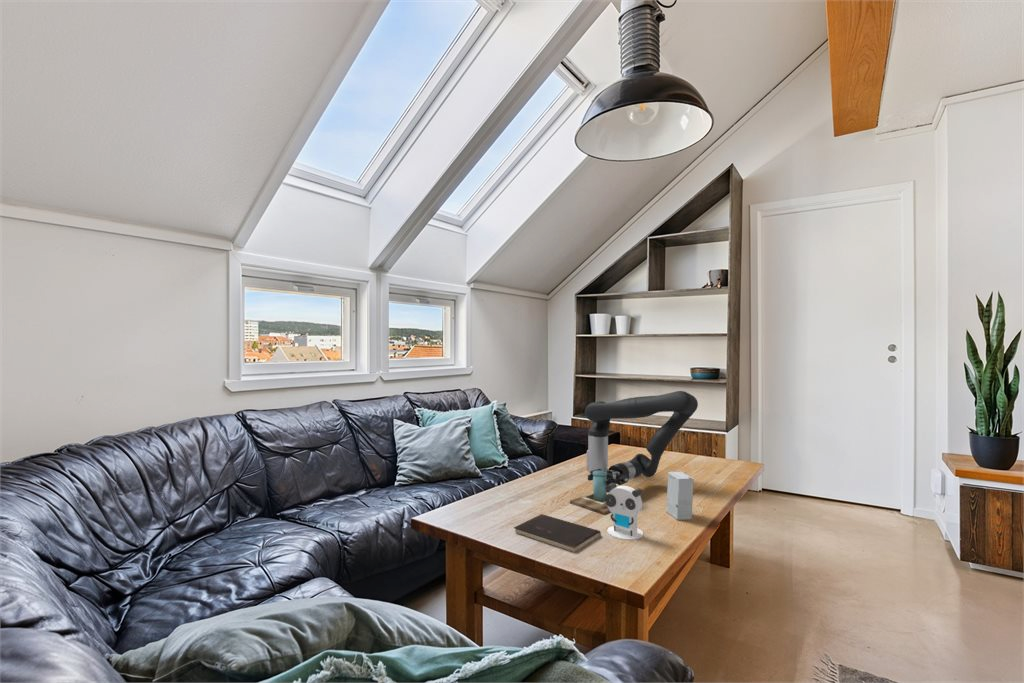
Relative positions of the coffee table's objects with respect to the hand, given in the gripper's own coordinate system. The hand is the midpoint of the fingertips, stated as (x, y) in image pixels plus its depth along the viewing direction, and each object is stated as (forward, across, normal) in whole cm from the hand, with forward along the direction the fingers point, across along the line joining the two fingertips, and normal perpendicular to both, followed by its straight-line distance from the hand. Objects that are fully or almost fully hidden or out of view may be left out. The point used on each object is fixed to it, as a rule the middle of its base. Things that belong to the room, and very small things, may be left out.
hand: (597, 480), depth 181 cm
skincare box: (-12, +27, +9) cm, 31 cm away
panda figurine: (+15, +22, +9) cm, 28 cm away
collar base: (-1, 0, +9) cm, 9 cm away
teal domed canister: (-1, 0, +8) cm, 8 cm away
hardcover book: (+32, +8, +10) cm, 35 cm away
